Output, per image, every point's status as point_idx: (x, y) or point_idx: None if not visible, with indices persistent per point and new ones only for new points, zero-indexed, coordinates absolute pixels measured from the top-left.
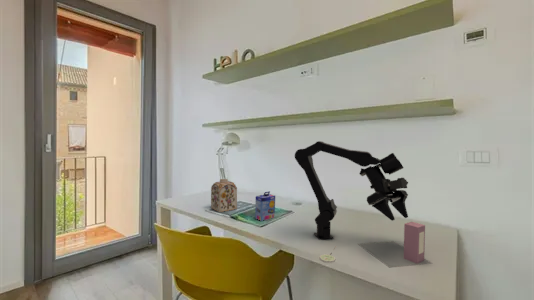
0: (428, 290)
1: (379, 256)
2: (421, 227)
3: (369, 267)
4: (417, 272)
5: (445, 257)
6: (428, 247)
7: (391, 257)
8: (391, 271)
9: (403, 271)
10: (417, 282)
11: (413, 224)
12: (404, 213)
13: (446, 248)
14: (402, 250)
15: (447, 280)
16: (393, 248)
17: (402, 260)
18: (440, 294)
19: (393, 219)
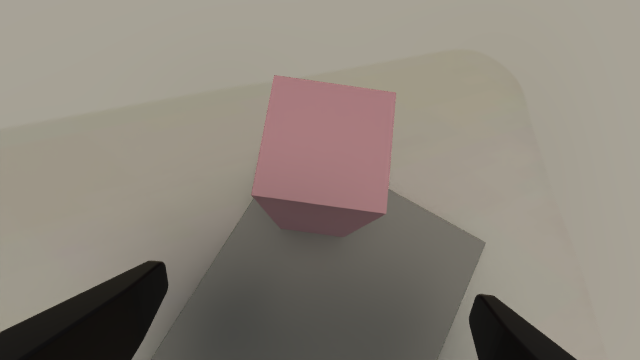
0: (507, 94)
1: (420, 329)
2: (338, 89)
3: (546, 308)
4: (415, 156)
5: (170, 121)
6: (88, 208)
7: (381, 281)
8: (495, 227)
9: (453, 194)
10: (489, 132)
11: (338, 147)
12: (131, 310)
13: (40, 144)
14: (250, 280)
15: (387, 71)
16: (259, 326)
17: (371, 231)
18: (498, 66)
19: (493, 303)
